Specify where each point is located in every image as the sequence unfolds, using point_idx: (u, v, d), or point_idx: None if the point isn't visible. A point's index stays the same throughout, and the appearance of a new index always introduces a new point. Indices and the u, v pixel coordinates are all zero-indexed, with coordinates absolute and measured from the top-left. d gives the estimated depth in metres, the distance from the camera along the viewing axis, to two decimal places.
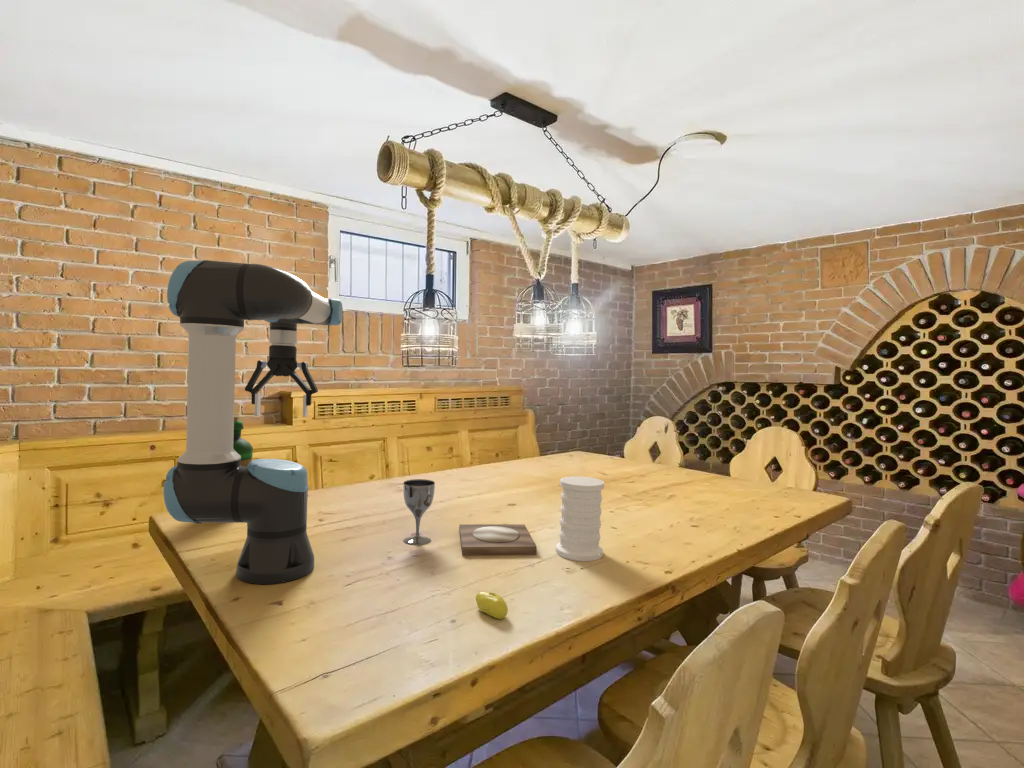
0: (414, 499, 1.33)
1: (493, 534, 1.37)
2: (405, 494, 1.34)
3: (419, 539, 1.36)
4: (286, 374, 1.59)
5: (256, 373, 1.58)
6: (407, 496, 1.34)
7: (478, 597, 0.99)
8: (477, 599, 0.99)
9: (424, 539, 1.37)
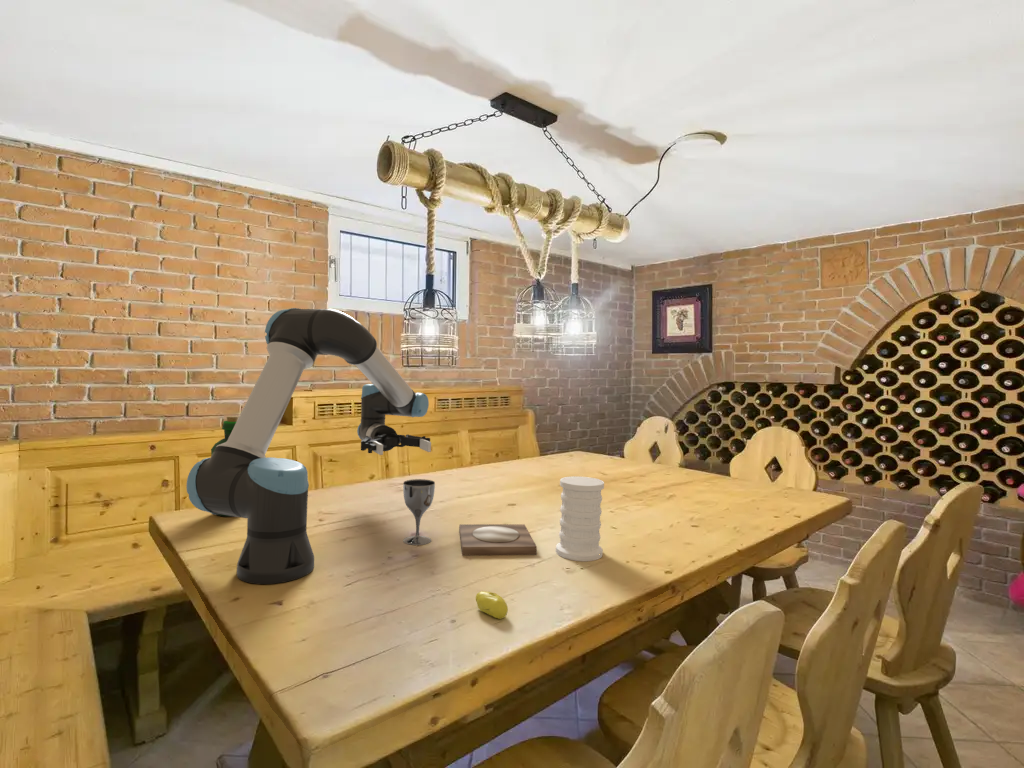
0: (414, 499, 1.33)
1: (493, 534, 1.37)
2: (405, 494, 1.34)
3: (419, 539, 1.36)
4: (396, 437, 1.56)
5: (367, 438, 1.52)
6: (407, 496, 1.34)
7: (478, 597, 0.99)
8: (477, 599, 0.99)
9: (424, 539, 1.37)
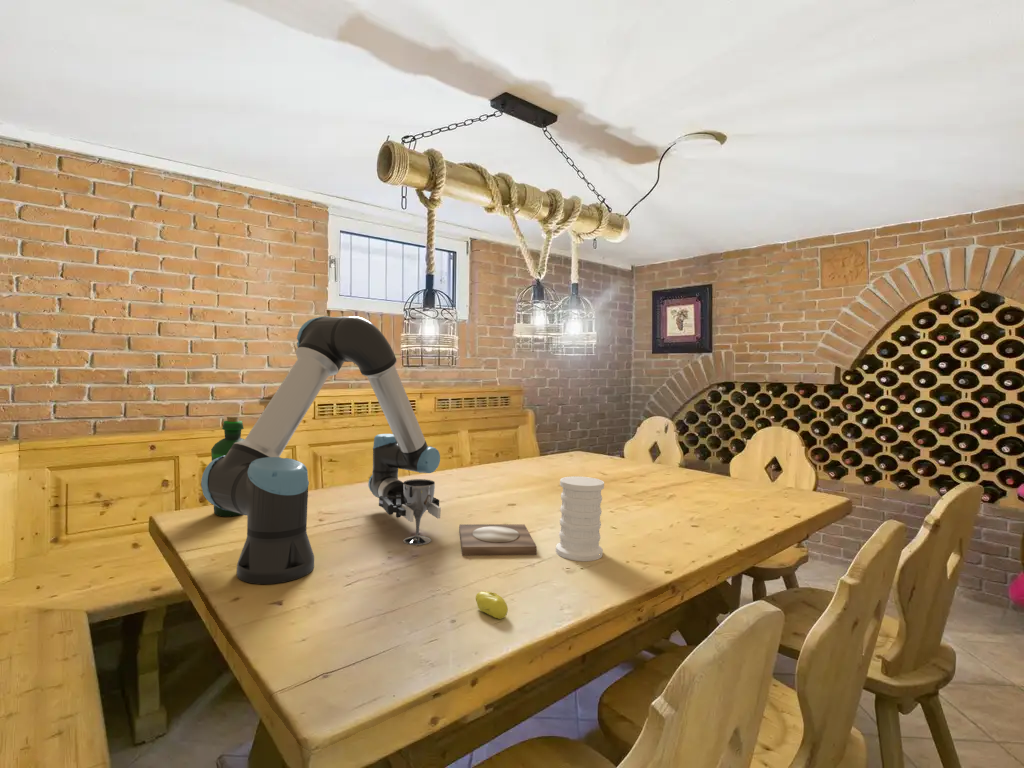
0: (414, 499, 1.33)
1: (493, 534, 1.37)
2: (405, 494, 1.34)
3: (419, 539, 1.36)
4: None
5: (387, 499, 1.41)
6: (407, 496, 1.34)
7: (478, 597, 0.99)
8: (477, 599, 0.99)
9: (424, 539, 1.37)
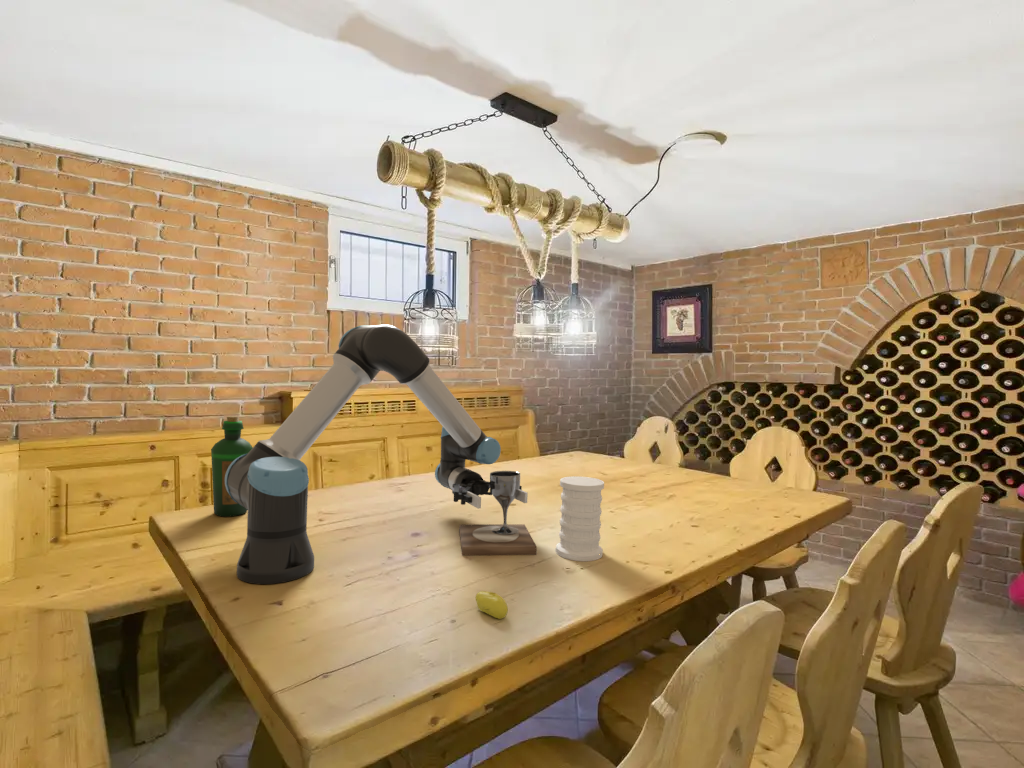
0: (504, 489, 1.36)
1: (493, 534, 1.37)
2: (494, 485, 1.37)
3: (508, 529, 1.39)
4: (485, 485, 1.46)
5: (457, 487, 1.42)
6: (496, 487, 1.37)
7: (478, 597, 0.99)
8: (477, 599, 0.99)
9: (512, 529, 1.40)
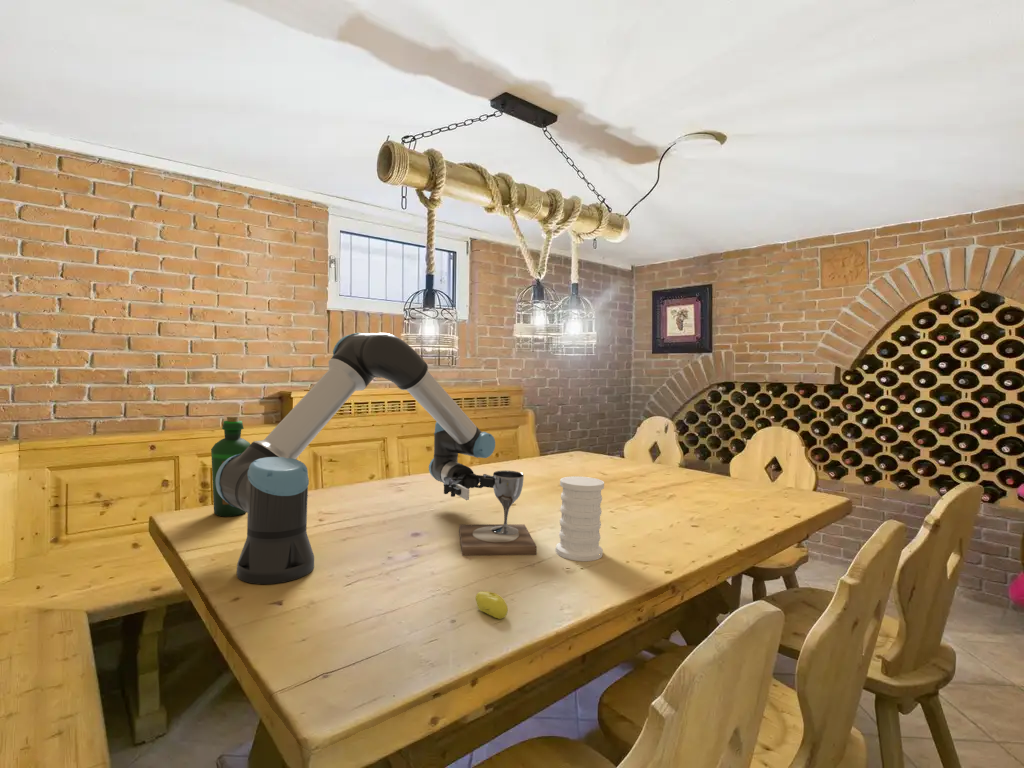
0: (507, 490, 1.36)
1: (493, 534, 1.37)
2: (497, 485, 1.37)
3: (508, 529, 1.39)
4: (475, 478, 1.53)
5: (448, 480, 1.48)
6: (499, 488, 1.36)
7: (478, 597, 0.99)
8: (477, 599, 0.99)
9: (512, 529, 1.40)
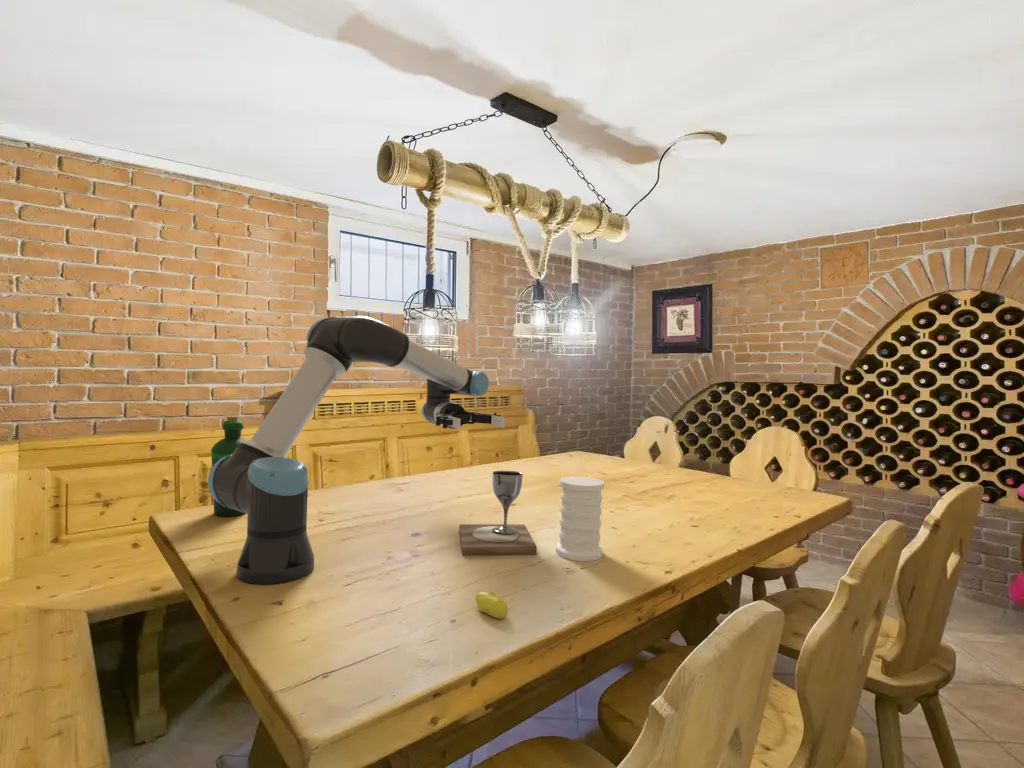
0: (507, 488, 1.37)
1: (493, 534, 1.37)
2: (496, 484, 1.38)
3: (508, 528, 1.39)
4: (466, 414, 1.57)
5: (440, 414, 1.52)
6: (499, 486, 1.37)
7: (478, 597, 0.99)
8: (477, 599, 0.99)
9: (512, 528, 1.40)
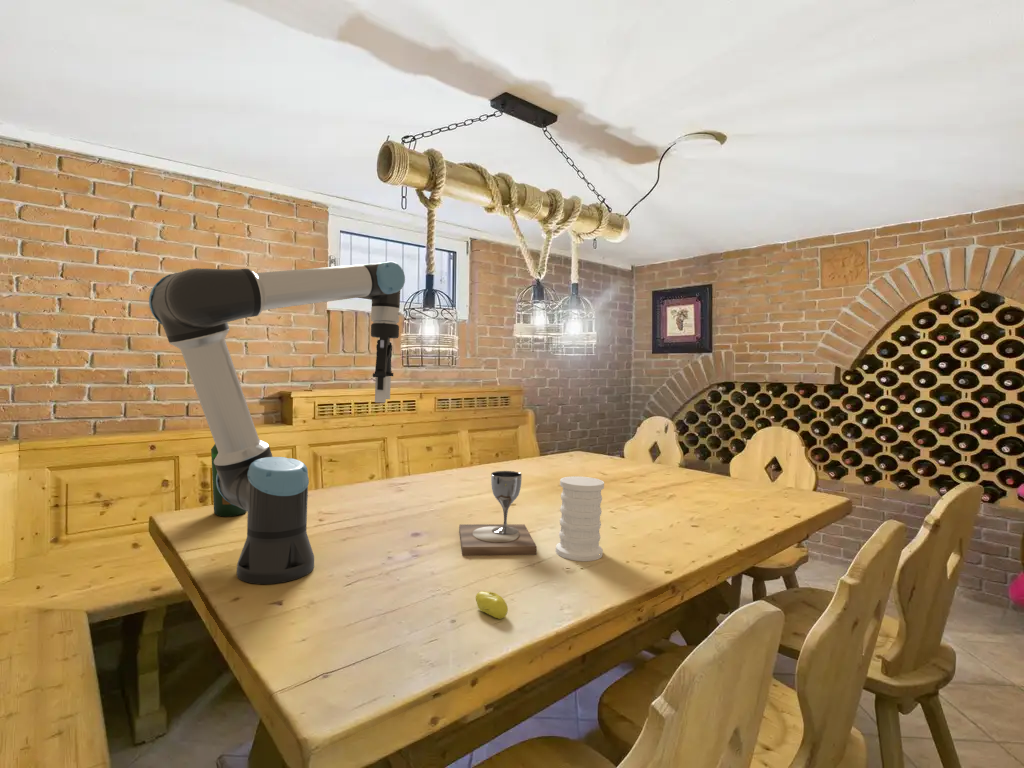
0: (506, 490, 1.36)
1: (493, 534, 1.37)
2: (495, 485, 1.37)
3: (508, 529, 1.39)
4: None
5: None
6: (498, 488, 1.37)
7: (478, 597, 0.99)
8: (477, 599, 0.99)
9: (512, 529, 1.40)
